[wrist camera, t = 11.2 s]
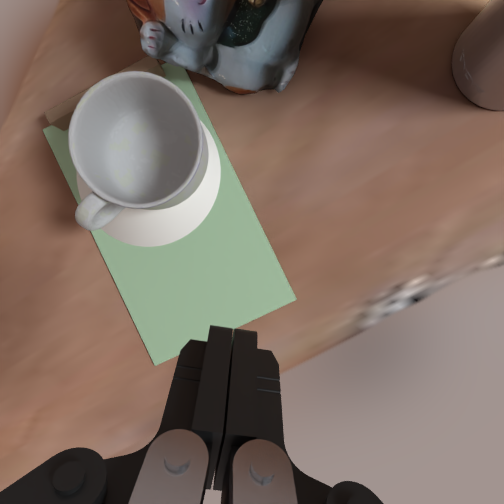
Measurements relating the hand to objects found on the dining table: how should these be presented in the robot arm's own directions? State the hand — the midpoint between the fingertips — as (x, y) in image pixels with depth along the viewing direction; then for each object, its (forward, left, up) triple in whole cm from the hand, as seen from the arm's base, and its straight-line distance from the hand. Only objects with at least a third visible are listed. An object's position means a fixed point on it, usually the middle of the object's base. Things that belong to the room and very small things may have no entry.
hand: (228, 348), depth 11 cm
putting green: (+6, -10, -24) cm, 27 cm away
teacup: (+5, -14, -24) cm, 29 cm away
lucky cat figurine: (-8, -23, -25) cm, 34 cm away
